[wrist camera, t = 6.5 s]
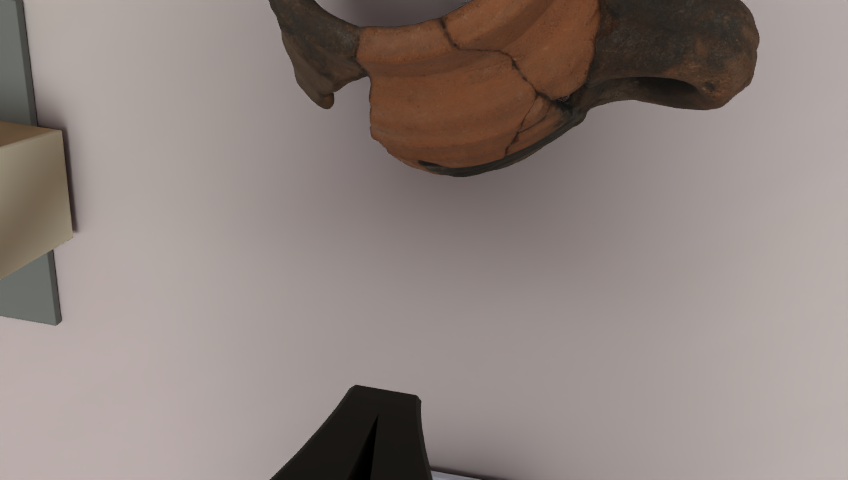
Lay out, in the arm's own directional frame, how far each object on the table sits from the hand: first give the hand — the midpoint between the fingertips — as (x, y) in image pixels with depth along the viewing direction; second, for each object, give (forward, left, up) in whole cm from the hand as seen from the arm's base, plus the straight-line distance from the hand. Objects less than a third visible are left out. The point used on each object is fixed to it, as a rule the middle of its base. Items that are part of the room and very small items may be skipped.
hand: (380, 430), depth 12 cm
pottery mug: (+8, -1, -10) cm, 13 cm away
